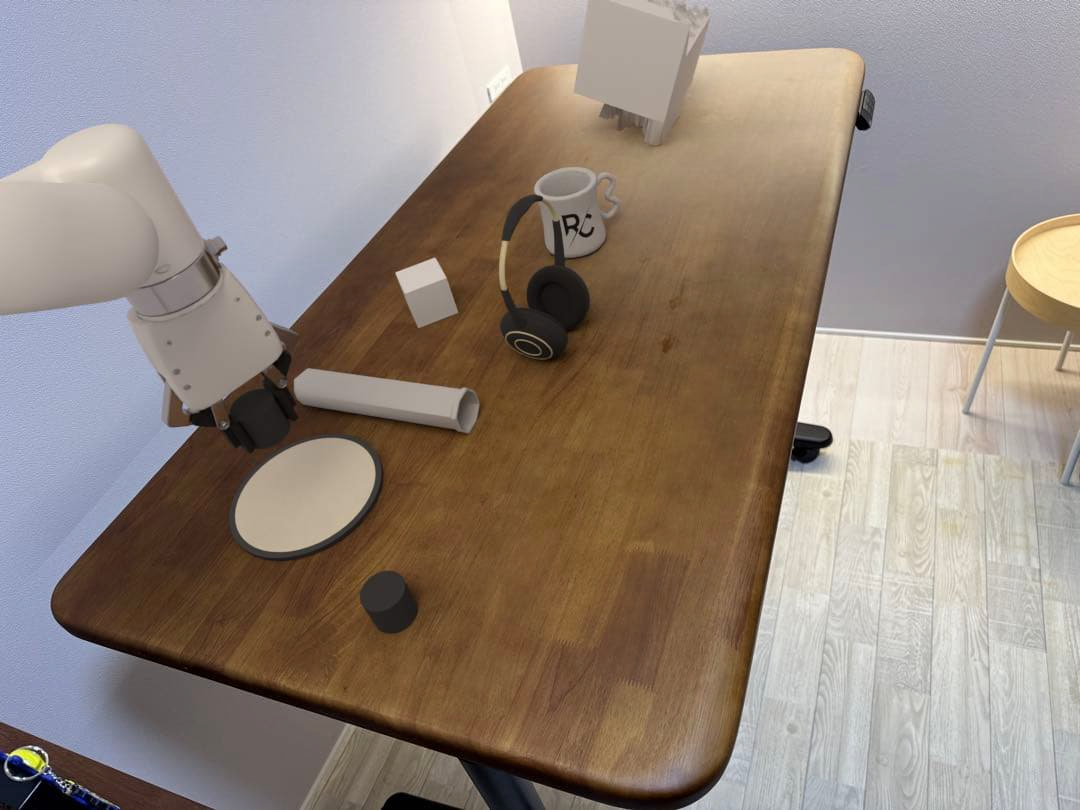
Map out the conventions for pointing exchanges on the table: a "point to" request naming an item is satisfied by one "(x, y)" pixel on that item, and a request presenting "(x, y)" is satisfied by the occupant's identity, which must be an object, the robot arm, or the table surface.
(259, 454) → the table surface
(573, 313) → the headphones
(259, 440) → the eye dot
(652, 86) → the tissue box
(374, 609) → the eye dot
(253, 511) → the face circle
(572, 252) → the mug
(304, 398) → the tube
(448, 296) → the white cube
